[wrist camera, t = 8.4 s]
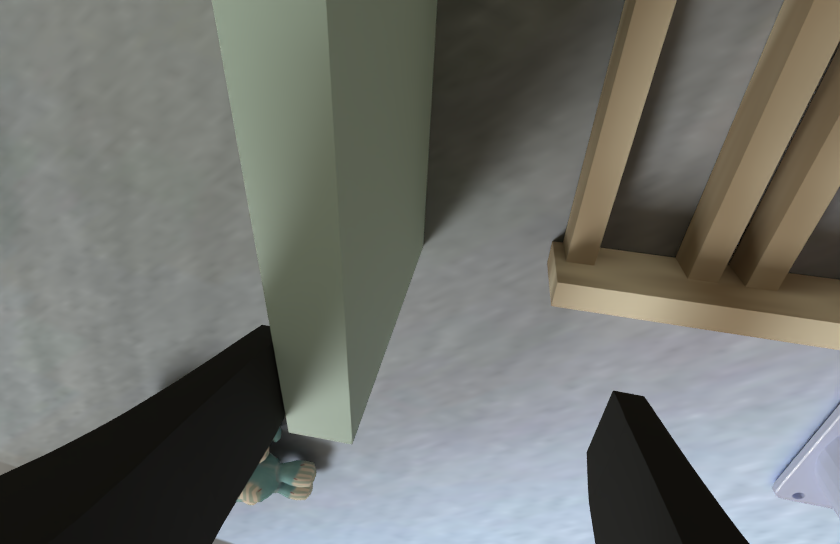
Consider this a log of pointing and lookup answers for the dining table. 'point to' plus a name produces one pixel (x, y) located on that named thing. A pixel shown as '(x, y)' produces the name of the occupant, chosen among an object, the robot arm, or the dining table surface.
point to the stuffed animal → (279, 479)
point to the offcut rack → (719, 192)
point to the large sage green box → (331, 183)
